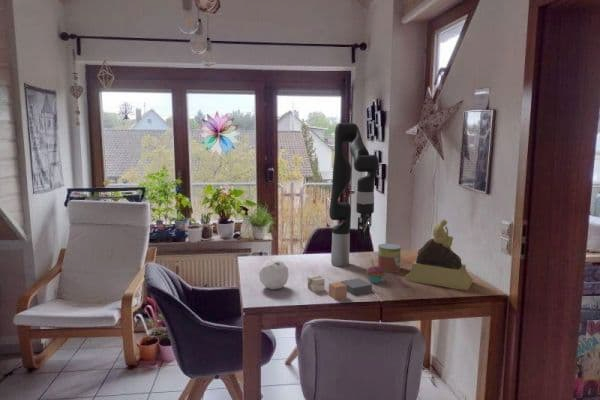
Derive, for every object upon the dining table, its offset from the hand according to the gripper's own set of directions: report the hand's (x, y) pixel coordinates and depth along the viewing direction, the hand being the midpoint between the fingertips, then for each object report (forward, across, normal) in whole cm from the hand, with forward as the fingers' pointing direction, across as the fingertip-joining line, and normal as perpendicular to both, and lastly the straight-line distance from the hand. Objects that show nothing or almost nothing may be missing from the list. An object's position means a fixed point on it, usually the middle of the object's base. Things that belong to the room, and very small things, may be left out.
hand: (364, 238), depth 191 cm
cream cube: (+24, +8, -20) cm, 32 cm away
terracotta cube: (+24, +12, -8) cm, 28 cm away
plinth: (+23, +1, -3) cm, 24 cm away
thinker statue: (+24, -26, +30) cm, 46 cm away
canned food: (+24, -35, +4) cm, 43 cm away
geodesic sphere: (+24, +13, -38) cm, 46 cm away
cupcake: (+24, -13, +2) cm, 27 cm away
